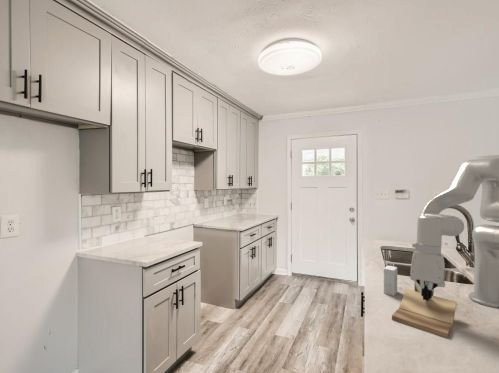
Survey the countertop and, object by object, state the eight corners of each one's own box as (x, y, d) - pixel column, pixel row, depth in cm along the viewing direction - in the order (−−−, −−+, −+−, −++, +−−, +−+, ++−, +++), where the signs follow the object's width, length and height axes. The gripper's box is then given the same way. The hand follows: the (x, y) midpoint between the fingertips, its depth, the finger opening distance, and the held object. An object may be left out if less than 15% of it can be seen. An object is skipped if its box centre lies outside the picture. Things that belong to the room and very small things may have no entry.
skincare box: (386, 291, 123) (387, 265, 123) (397, 294, 120) (397, 266, 120) (383, 295, 118) (383, 268, 118) (394, 298, 116) (394, 270, 115)
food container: (442, 304, 110) (442, 280, 110) (425, 303, 111) (425, 279, 111) (428, 292, 122) (429, 270, 122) (413, 291, 123) (413, 269, 123)
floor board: (404, 303, 111) (404, 297, 111) (460, 319, 98) (460, 312, 98) (388, 322, 97) (388, 315, 97) (451, 343, 84) (451, 335, 84)
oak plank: (406, 291, 108) (405, 288, 108) (456, 304, 97) (456, 301, 97) (399, 310, 103) (399, 308, 102) (452, 326, 91) (452, 323, 91)
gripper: (402, 246, 103) (400, 295, 103) (452, 255, 92) (449, 309, 93) (408, 244, 108) (406, 290, 108) (455, 251, 98) (453, 303, 98)
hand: (426, 299), depth 100 cm, fingers closed
